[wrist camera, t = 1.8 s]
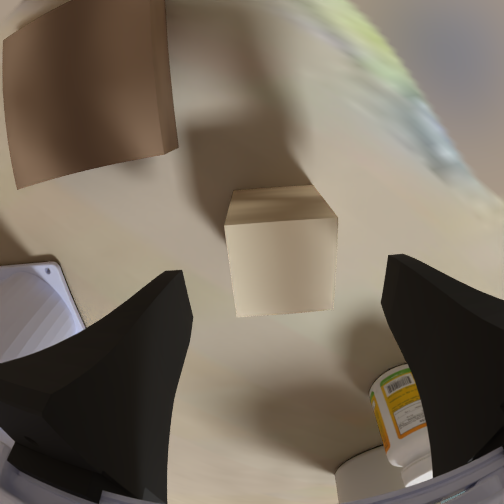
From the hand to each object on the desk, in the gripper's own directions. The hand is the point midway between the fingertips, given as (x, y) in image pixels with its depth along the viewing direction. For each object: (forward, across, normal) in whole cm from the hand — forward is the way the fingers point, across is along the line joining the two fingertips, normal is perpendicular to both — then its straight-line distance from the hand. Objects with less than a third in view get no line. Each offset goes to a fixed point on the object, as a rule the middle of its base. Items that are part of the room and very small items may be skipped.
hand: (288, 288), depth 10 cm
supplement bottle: (+6, -10, +15) cm, 19 cm away
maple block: (+6, 0, 0) cm, 6 cm away
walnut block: (+6, +9, -9) cm, 14 cm away
